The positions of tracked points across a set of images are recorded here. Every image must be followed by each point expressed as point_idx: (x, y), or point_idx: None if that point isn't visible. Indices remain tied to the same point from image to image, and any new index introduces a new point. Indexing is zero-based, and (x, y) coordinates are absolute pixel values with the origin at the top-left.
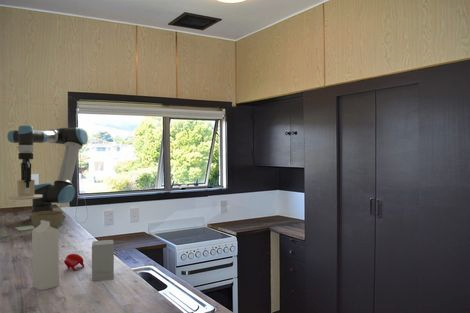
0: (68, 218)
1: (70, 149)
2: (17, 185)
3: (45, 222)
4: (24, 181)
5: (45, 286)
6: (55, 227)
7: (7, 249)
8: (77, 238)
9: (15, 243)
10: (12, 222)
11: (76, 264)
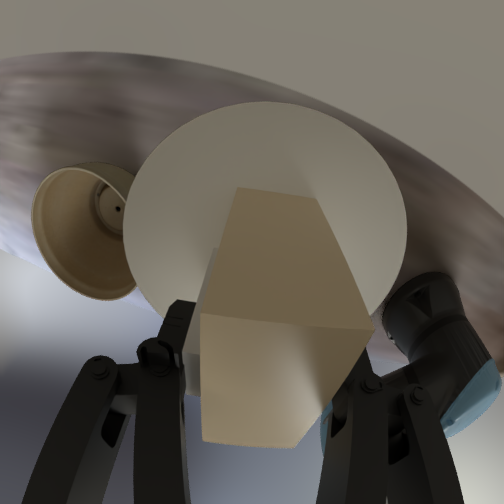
0: None
1: None
2: (340, 262)
3: None
4: (140, 348)
5: None
6: (80, 228)
7: (7, 64)
8: (17, 232)
9: (40, 81)
10: (453, 209)
11: None
